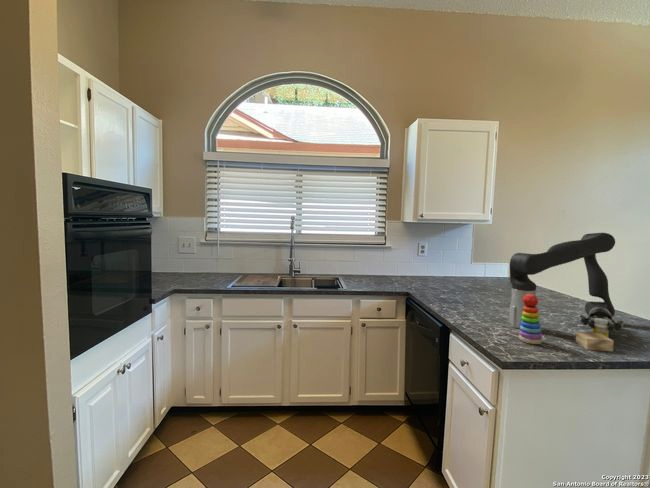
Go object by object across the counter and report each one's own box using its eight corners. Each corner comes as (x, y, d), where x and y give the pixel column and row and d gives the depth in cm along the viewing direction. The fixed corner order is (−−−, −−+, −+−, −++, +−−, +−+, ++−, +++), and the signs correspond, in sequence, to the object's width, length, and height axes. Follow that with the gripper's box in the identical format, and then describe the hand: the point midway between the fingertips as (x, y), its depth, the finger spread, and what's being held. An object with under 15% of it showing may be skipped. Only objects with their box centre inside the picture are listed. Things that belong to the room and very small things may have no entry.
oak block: (586, 349, 115) (587, 338, 115) (575, 341, 123) (576, 331, 123) (613, 351, 113) (613, 340, 113) (600, 343, 121) (600, 333, 120)
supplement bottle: (592, 337, 127) (593, 317, 127) (607, 339, 124) (608, 319, 124) (592, 340, 124) (593, 319, 123) (608, 343, 121) (609, 322, 120)
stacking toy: (537, 338, 126) (538, 292, 125) (546, 345, 119) (548, 297, 118) (515, 336, 128) (516, 291, 127) (523, 344, 120) (524, 296, 119)
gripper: (579, 305, 139) (578, 314, 126) (623, 311, 130) (627, 321, 117) (578, 322, 139) (577, 332, 126) (622, 329, 130) (626, 340, 117)
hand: (601, 327), depth 122 cm, fingers closed on supplement bottle, 4 cm apart
